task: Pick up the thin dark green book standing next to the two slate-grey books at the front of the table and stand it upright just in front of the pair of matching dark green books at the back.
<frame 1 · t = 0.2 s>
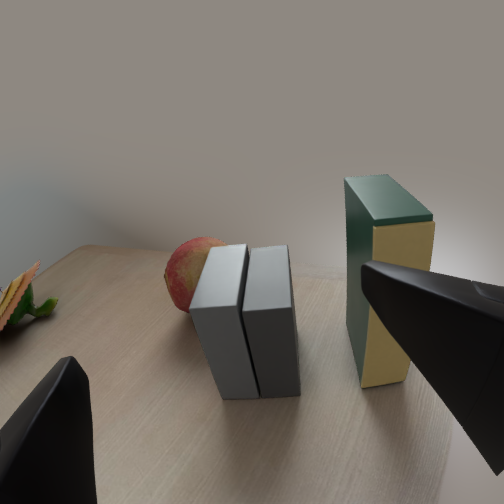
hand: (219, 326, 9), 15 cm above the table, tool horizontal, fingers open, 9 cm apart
green book: (372, 349, 25), on the table
grey books: (254, 321, 24), on the table
flower: (25, 322, 37), on the table
fruit: (211, 309, 34), on the table
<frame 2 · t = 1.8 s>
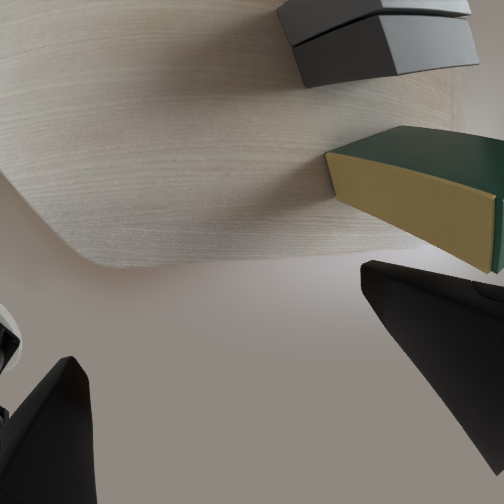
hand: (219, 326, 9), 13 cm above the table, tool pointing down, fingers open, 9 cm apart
green book: (372, 158, 23), on the table
grey books: (379, 26, 14), on the table
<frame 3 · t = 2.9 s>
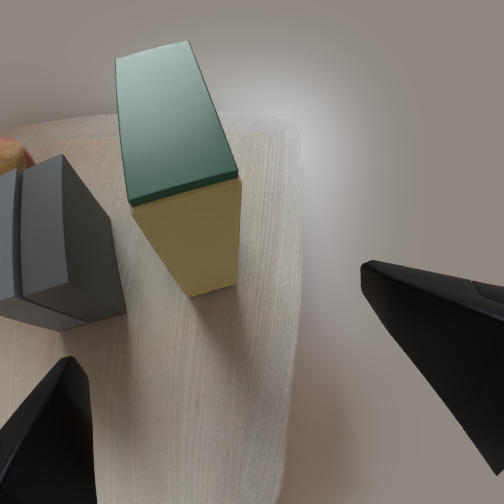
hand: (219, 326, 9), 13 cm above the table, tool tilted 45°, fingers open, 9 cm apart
green book: (197, 238, 24), on the table
grey books: (53, 253, 18), on the table
fruit: (24, 208, 24), on the table
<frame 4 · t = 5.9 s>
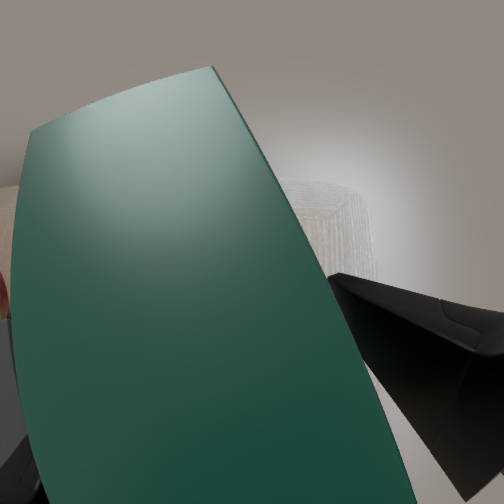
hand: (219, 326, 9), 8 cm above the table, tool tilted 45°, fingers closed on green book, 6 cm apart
green book: (238, 387, 15), on the table, tilted 5°, touching gripper
grey books: (37, 434, 10), on the table
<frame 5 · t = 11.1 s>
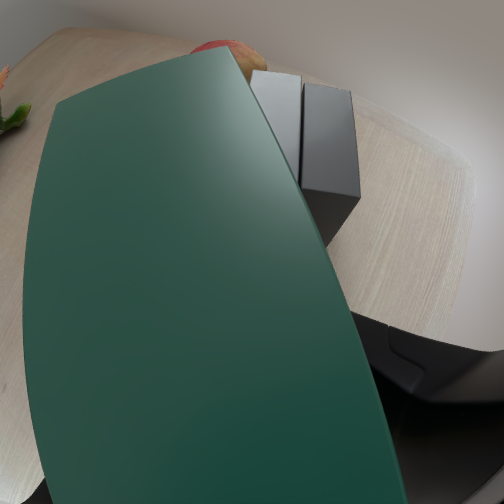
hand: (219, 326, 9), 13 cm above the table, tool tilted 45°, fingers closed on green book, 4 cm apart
green book: (251, 370, 16), point 5 cm above the table, tilted 9°, touching gripper
grey books: (290, 170, 20), on the table
fruit: (221, 120, 27), on the table
when the fingers open (9 cm above the table, at t = 16.7 s): green book stays where it is, point 1 cm above the table.
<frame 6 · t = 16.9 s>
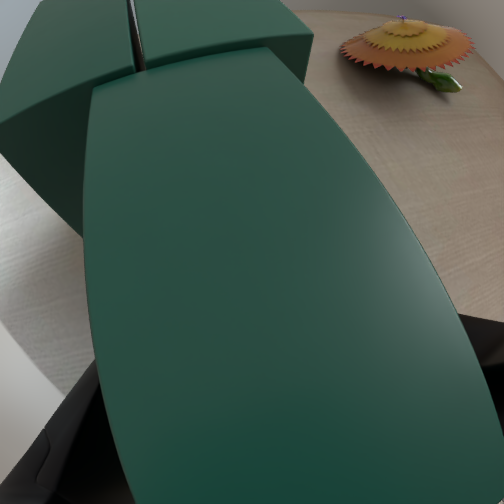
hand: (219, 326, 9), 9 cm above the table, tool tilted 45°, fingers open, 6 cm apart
green books: (165, 143, 13), on the table
green book: (252, 379, 15), point 1 cm above the table, tilted 9°, touching gripper
flower: (397, 67, 26), on the table
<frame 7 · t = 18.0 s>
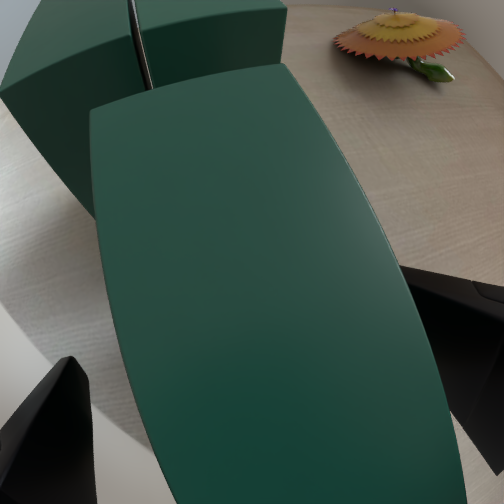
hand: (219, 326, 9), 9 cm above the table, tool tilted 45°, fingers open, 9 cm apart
green books: (160, 120, 13), on the table
green book: (244, 353, 17), on the table
flower: (389, 58, 27), on the table
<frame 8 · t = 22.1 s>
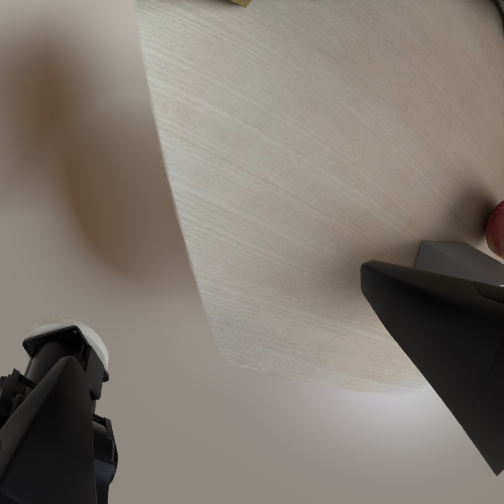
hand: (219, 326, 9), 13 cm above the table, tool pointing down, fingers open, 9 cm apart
grey books: (468, 290, 25), on the table
fruit: (489, 220, 29), on the table
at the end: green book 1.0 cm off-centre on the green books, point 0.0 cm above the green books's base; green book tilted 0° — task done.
